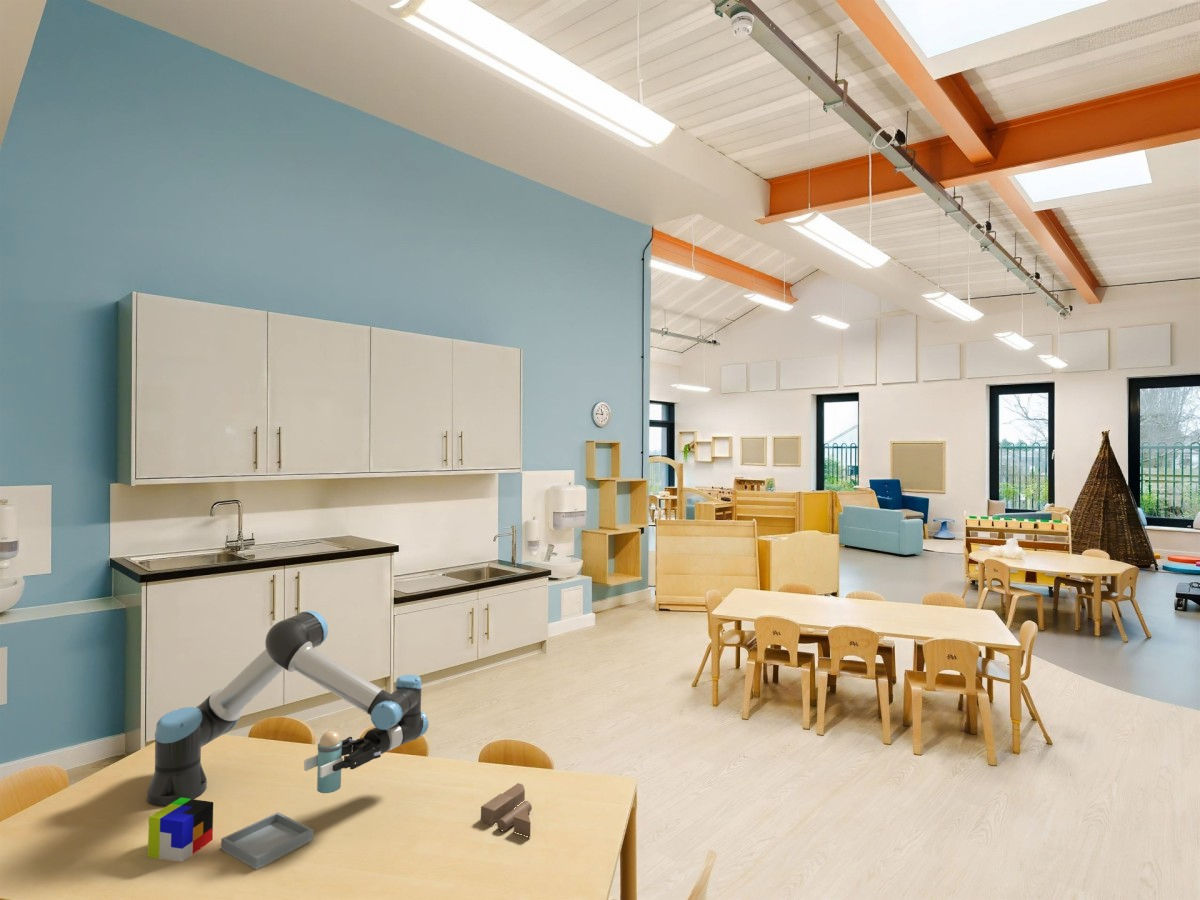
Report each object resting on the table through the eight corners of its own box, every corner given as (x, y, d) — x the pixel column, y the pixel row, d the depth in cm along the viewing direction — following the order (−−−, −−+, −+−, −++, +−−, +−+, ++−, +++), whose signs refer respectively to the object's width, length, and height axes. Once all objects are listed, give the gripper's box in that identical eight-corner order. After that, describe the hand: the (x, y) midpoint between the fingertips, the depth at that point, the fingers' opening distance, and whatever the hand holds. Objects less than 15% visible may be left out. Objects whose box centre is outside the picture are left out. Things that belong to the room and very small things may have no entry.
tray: (221, 849, 174) (221, 838, 174) (277, 822, 188) (277, 812, 188) (256, 870, 166) (256, 858, 166) (313, 840, 179) (313, 829, 179)
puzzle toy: (181, 862, 169) (182, 821, 169) (147, 856, 171) (148, 816, 171) (212, 840, 179) (213, 802, 179) (179, 835, 181) (180, 797, 181)
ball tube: (311, 789, 183) (313, 732, 184) (331, 780, 189) (332, 725, 189) (326, 795, 180) (327, 738, 180) (346, 786, 185) (347, 730, 185)
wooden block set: (478, 804, 189) (517, 778, 205) (478, 824, 189) (516, 797, 205) (528, 820, 181) (564, 792, 197) (527, 842, 181) (564, 812, 197)
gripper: (404, 760, 195) (335, 793, 175) (360, 744, 205) (290, 773, 185) (405, 733, 195) (336, 764, 175) (361, 719, 205) (291, 746, 185)
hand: (313, 768), depth 180 cm, fingers closed on ball tube, 6 cm apart
